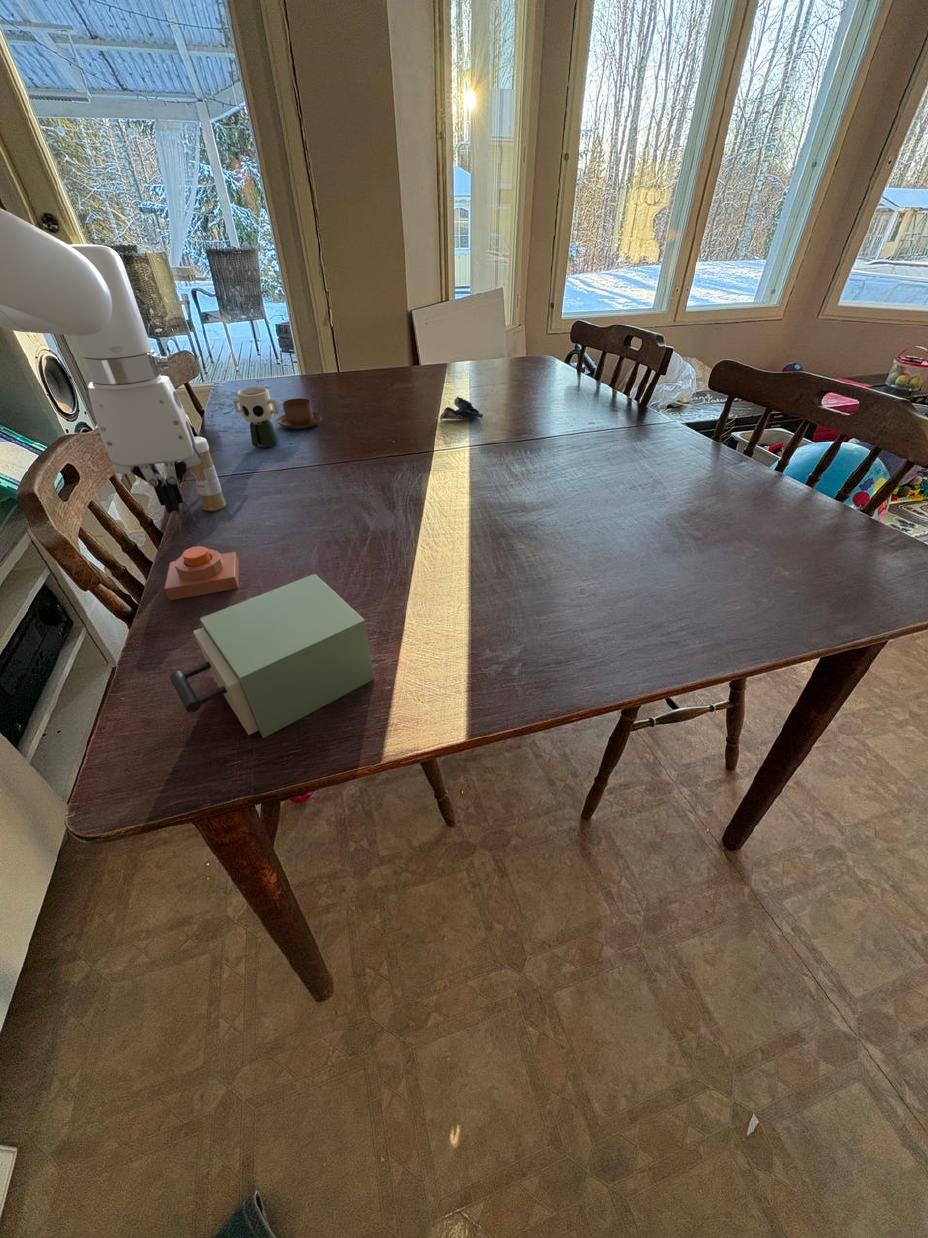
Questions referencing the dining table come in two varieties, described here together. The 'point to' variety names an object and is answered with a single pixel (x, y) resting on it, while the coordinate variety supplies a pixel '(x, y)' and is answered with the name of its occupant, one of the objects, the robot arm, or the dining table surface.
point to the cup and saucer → (298, 414)
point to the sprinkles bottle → (207, 479)
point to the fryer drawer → (222, 677)
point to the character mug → (258, 414)
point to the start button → (196, 556)
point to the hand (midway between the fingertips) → (175, 507)
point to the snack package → (460, 411)
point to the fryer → (292, 650)
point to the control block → (202, 576)
